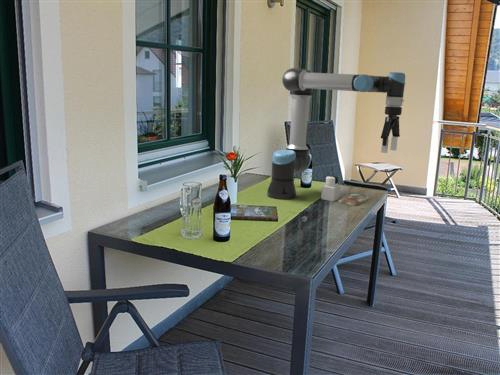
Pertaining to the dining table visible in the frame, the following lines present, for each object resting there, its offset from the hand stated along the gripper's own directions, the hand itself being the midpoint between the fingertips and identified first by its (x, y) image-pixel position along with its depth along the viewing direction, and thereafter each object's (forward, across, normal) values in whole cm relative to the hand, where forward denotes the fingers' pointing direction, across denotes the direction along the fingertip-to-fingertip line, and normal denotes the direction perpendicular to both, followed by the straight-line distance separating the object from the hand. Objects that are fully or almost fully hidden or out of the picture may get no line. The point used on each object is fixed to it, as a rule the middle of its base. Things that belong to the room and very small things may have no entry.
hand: (388, 151), depth 235 cm
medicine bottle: (+28, -1, +27) cm, 39 cm away
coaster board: (+28, +5, +17) cm, 33 cm away
